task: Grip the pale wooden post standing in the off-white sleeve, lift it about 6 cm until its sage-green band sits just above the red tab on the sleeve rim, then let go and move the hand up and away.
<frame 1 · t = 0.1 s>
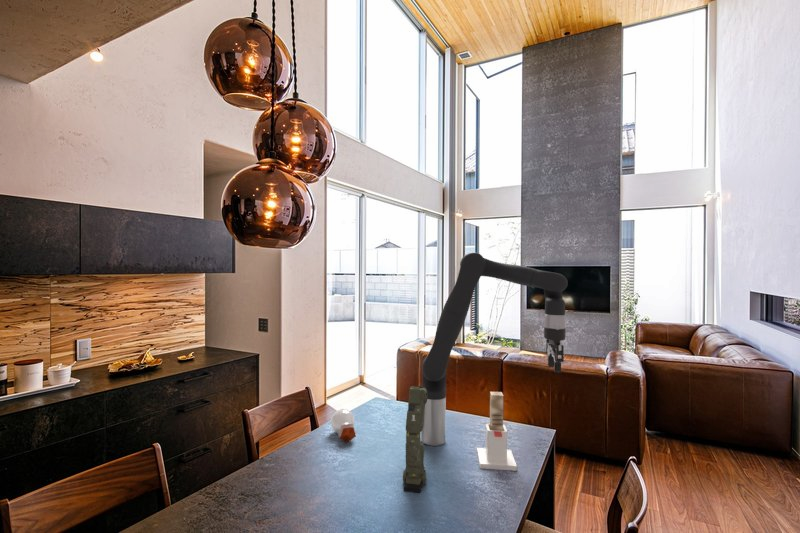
hand: (554, 369, 148), 29 cm above the table, tool pointing down, fingers open, 8 cm apart
potion bottle: (344, 436, 156), on the table
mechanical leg: (414, 481, 123), on the table
sleeve stand: (495, 460, 137), on the table
post: (496, 424, 137), point 13 cm above the table, slide at 0.0 cm
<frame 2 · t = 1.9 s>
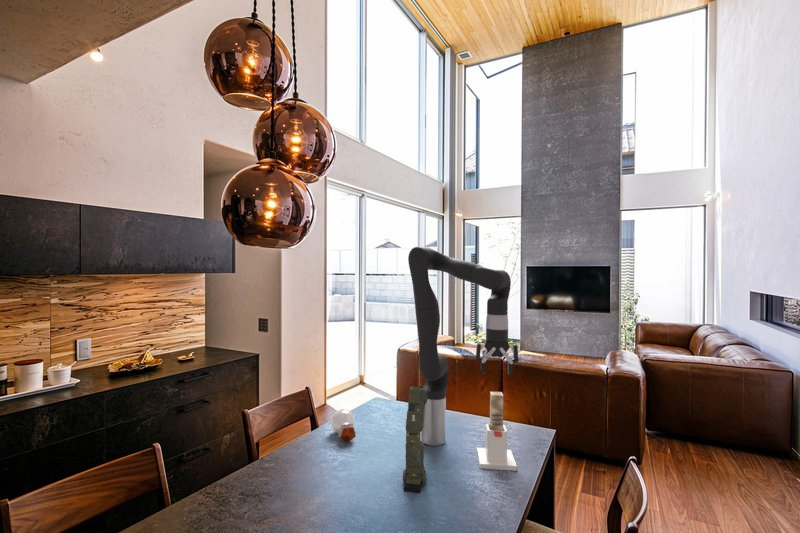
hand: (496, 373, 137), 30 cm above the table, tool pointing down, fingers open, 8 cm apart
nothing on the table moved.
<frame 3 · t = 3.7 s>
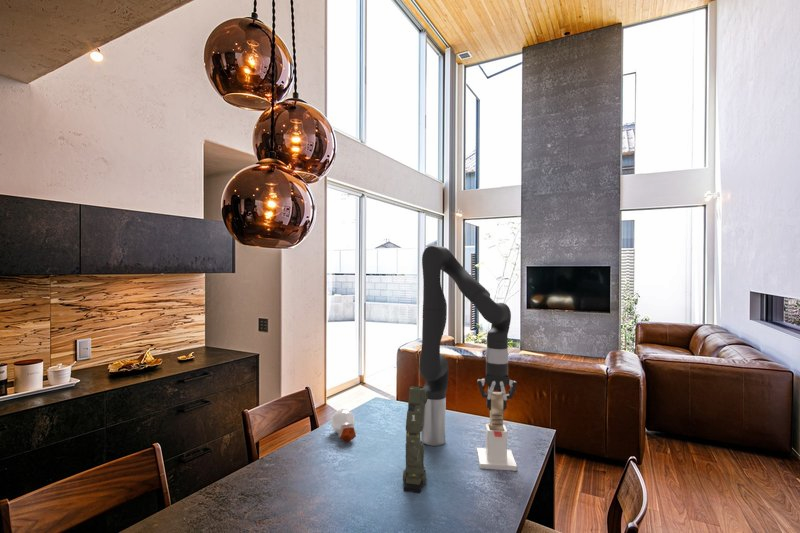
hand: (496, 409, 137), 18 cm above the table, tool pointing down, fingers closed on post, 4 cm apart
post: (496, 424, 137), point 13 cm above the table, slide at 0.0 cm, touching gripper
everything else where it was.
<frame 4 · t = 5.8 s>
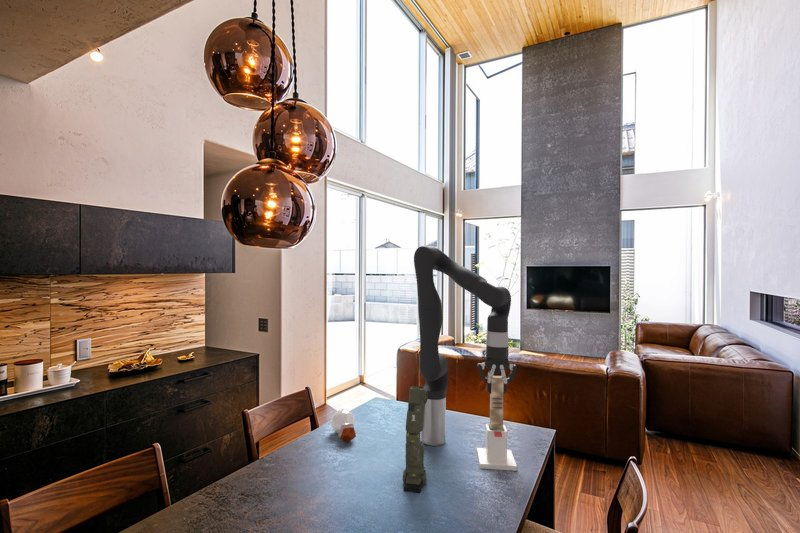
hand: (496, 393, 137), 23 cm above the table, tool pointing down, fingers closed on post, 4 cm apart
post: (496, 408, 137), point 18 cm above the table, slide at 5.6 cm, touching gripper
everything else where it was.
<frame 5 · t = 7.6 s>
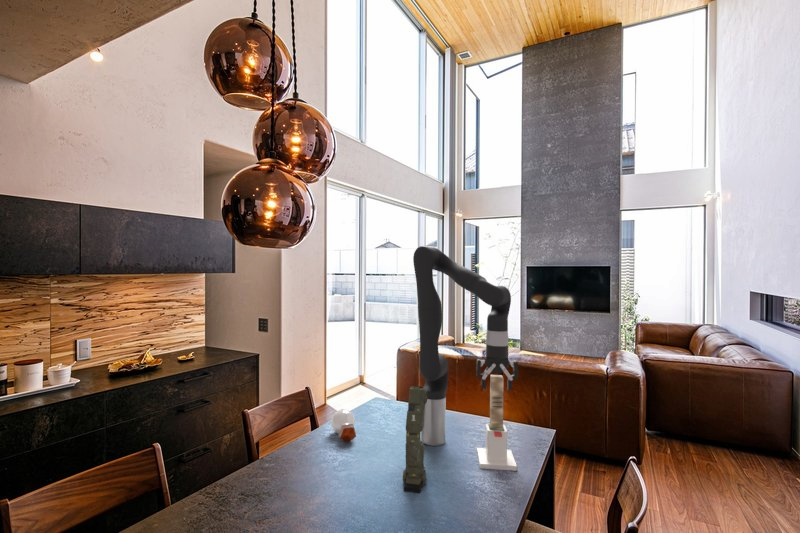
hand: (496, 390, 137), 25 cm above the table, tool pointing down, fingers open, 8 cm apart
post: (496, 407, 137), point 19 cm above the table, slide at 6.0 cm
everything else where it was.
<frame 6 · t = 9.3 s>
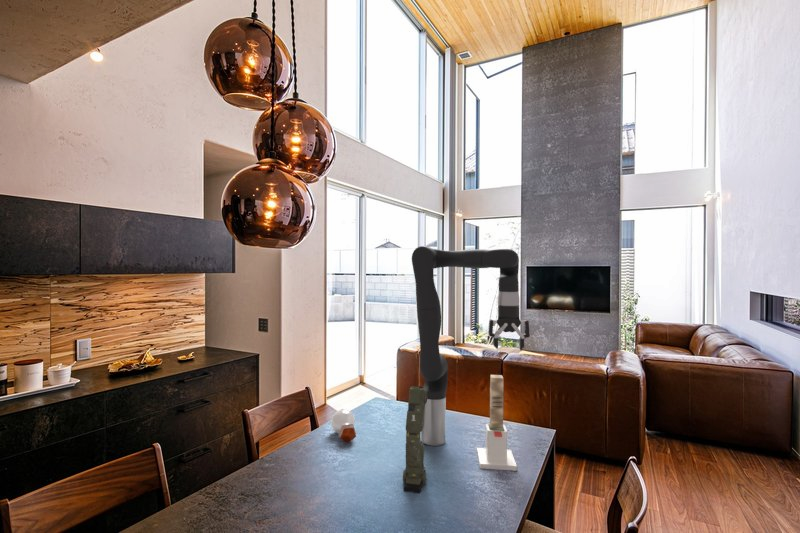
hand: (508, 348, 144), 38 cm above the table, tool pointing down, fingers open, 8 cm apart
nothing on the table moved.
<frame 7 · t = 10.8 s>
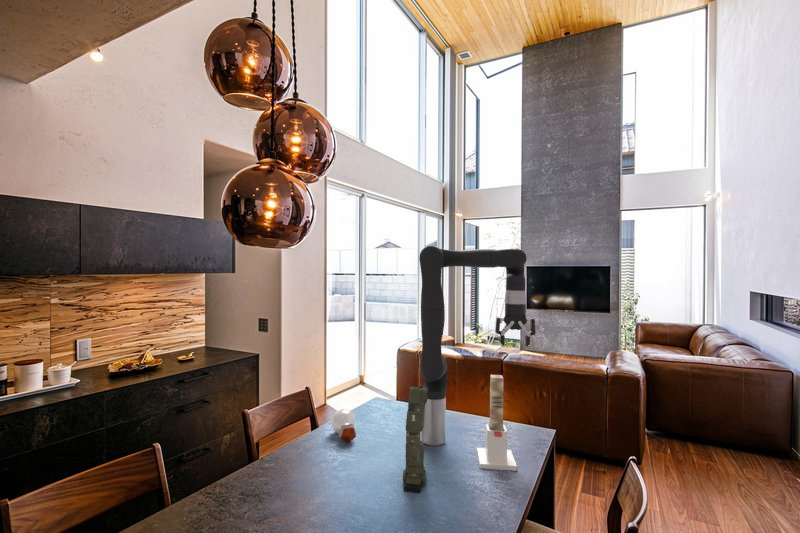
hand: (514, 345, 148), 38 cm above the table, tool pointing down, fingers open, 8 cm apart
nothing on the table moved.
at the end: post slide at 6.0 cm; the gripper is holding nothing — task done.
